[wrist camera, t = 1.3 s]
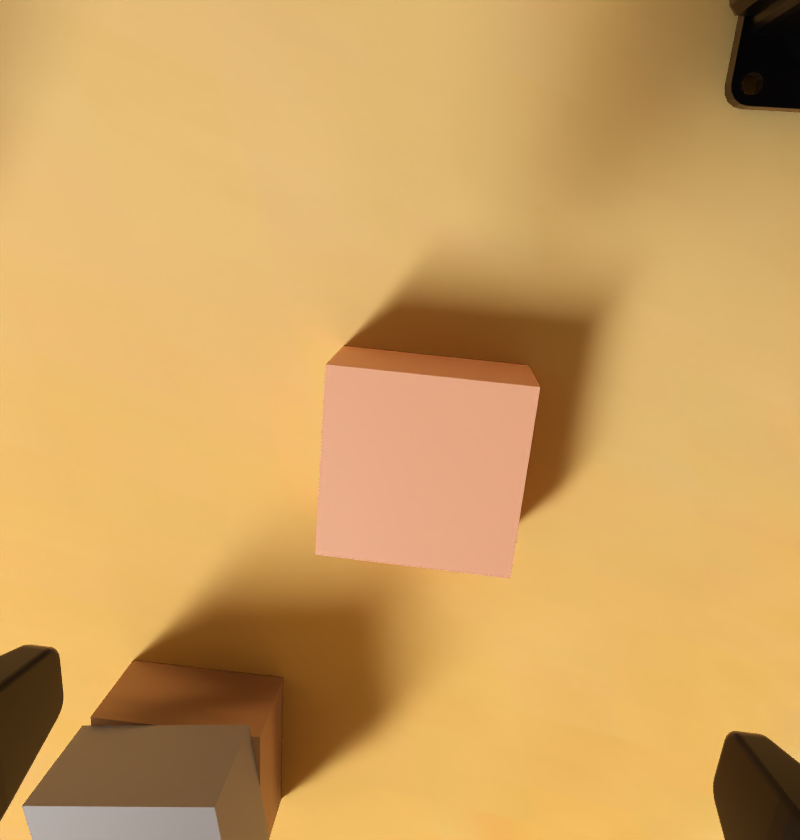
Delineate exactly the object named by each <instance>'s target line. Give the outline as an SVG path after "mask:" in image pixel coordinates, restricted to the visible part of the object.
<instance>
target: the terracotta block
mask: <svg viewBox="0 0 800 840" xmlns="http://www.w3.org/2000/svg"><path fill="white" fill-rule="evenodd" d="M539 393H540V386H539V384H538V382H537V380H536V378H535V376H534V374H533V372H532V371H531V369H530V367H529V365H522V364H513V363H503V362H493V361H484V360H474V359H465V358H455V357H446V356H436V355H427V354H417V353H407V352H398V351H388V350H379V349H369V348H360V347H350V346H343V347H342V348H341V349H340V350H339V351H338V352H337V353H336V354H335V355H334V356H333V357H332V358H331V360H330V361H329V362H328V363H327V364H326V370H325V388H324V405H323V423H322V441H321V459H320V476H319V494H318V512H317V530H316V547H315V555H322V556H330V557H338V558H346V559H355V560H363V561H371V562H379V563H387V564H395V565H404V566H412V567H420V568H428V569H436V570H444V571H452V572H461V573H469V574H477V575H485V576H493V577H501V578H510V576H511V569H512V563H513V557H514V550H515V544H516V538H517V531H518V525H519V519H520V513H521V506H522V500H523V494H524V487H525V481H526V475H527V468H528V462H529V456H530V449H531V443H532V437H533V430H534V424H535V418H536V412H537V405H538V399H539Z"/></svg>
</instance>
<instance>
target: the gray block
mask: <svg viewBox="0 0 800 840" xmlns="http://www.w3.org/2000/svg"><path fill="white" fill-rule="evenodd" d="M22 808H23V811H24V814H25V817H26V821H27V824H28V827H29V830H30V834H31V837H32V840H269V836H268V830H267V824H266V819H265V813H264V807H263V802H262V796H261V790H260V785H259V779H258V773H257V768H256V762H255V756H254V751H253V745H252V739H251V733H250V727H249V725H105V726H82V727H81V728H80V730H79V731H78V732H77V734H76V735H75V736H74V738H73V739H72V740H71V742H70V743H69V744H68V746H67V747H66V748H65V750H64V751H63V752H62V754H61V755H60V756H59V758H58V759H57V760H56V762H55V763H54V764H53V766H52V767H51V768H50V770H49V771H48V772H47V774H46V775H45V776H44V778H43V779H42V780H41V782H40V783H39V784H38V786H37V787H36V788H35V790H34V791H33V792H32V794H31V795H30V796H29V798H28V799H27V800H26V802H25V803H24V804H23V806H22Z"/></svg>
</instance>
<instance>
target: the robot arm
mask: <svg viewBox="0 0 800 840" xmlns="http://www.w3.org/2000/svg"><path fill="white" fill-rule="evenodd" d="M730 7H731V9H732V11H733V13H734V15H735V16H738V22H737V27H736V32H735V37H734V42H733V47H732V52H731V58H730V63H729V68H728V73H727V78H726V83H725V96H726V98H727V101H728V102H729V103H730V104H731V105H732V106H733V107H736V108H739V109H750V110H768V111H785V112H800V0H730ZM745 76H750V77H753V79H754V80H755V82H756V89H755V91H754V93H753V94H752V95H747V94H745V93H744V92H743V90H742V81H743V79H744V77H745ZM62 704H63V686H62V676H61V666H60V657H59V653H58V652H57V650H56V649H54V648H52V647H46V646H38V645H24V646H21V647H19V648H17V649H14V650H12V651H10V652H8V653H6V654H3V655H1V656H0V821H1V819H2V817H3V815H4V814H5V812H6V810H7V809H8V807H9V805H10V803H11V801H12V800H13V798H14V796H15V794H16V792H17V791H18V789H19V787H20V785H21V783H22V781H23V780H24V778H25V776H26V774H27V772H28V771H29V769H30V767H31V765H32V763H33V762H34V760H35V758H36V756H37V754H38V752H39V751H40V749H41V747H42V745H43V743H44V742H45V740H46V738H47V736H48V734H49V733H50V731H51V729H52V727H53V725H54V723H55V722H56V720H57V718H58V716H59V714H60V711H61V708H62ZM713 794H714V800H715V804H716V808H717V812H718V816H719V819H720V823H721V827H722V831H723V834H724V838H725V840H800V763H799V762H797V761H796V760H795V759H794V758H792V757H791V756H790V755H789V754H787V753H786V752H785V751H784V750H782V749H781V748H780V747H779V746H777V745H776V744H775V743H774V742H772V741H771V740H770V739H769V738H767V737H766V736H764V735H761V734H756V733H748V732H740V731H733V732H730V733H729V734H728V735H727V736H726V738H725V741H724V744H723V748H722V751H721V755H720V759H719V762H718V766H717V769H716V773H715V777H714V782H713Z"/></svg>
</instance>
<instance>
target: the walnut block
mask: <svg viewBox="0 0 800 840" xmlns="http://www.w3.org/2000/svg"><path fill="white" fill-rule="evenodd" d="M282 716H283V678H282V677H274V676H265V675H256V674H247V673H239V672H230V671H221V670H213V669H204V668H195V667H186V666H178V665H169V664H160V663H151V662H143V661H134V660H133V661H132V663H131V664H130V665H129V667H128V668H127V669H126V671H125V672H124V673H123V675H122V676H121V677H120V679H119V680H118V681H117V683H116V684H115V685H114V687H113V688H112V689H111V691H110V692H109V693H108V695H107V696H106V697H105V699H104V700H103V701H102V703H101V704H100V705H99V707H98V708H97V709H96V711H95V712H94V713H93V715H92V716H91V726H105V725H249V727H250V733H251V739H252V745H253V751H254V756H255V762H256V768H257V773H258V779H259V785H260V790H261V796H262V802H263V807H264V813H265V819H266V824H267V830H268V836H269V837H270V834H271V831H272V827H273V824H274V821H275V817H276V814H277V811H278V808H279V804H280V801H281V784H282Z"/></svg>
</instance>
